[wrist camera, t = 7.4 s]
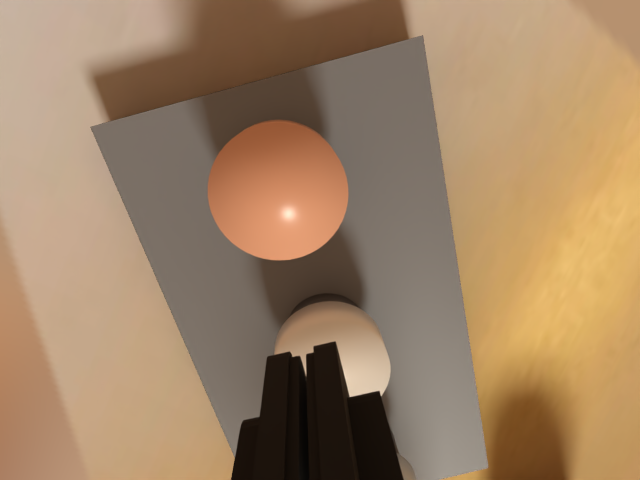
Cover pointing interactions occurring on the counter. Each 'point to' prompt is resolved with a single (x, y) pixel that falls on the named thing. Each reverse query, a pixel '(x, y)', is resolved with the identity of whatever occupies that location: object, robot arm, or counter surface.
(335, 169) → the terracotta button
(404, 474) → the bluegrey button
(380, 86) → the button panel
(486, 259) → the counter surface
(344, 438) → the robot arm
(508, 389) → the counter surface
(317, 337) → the white button
